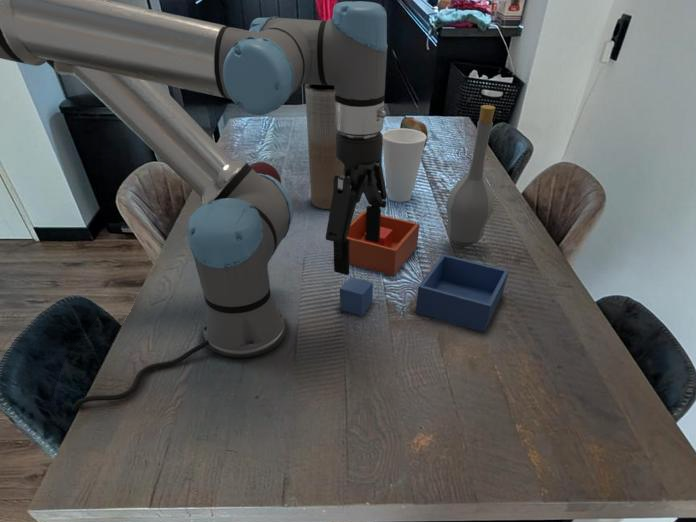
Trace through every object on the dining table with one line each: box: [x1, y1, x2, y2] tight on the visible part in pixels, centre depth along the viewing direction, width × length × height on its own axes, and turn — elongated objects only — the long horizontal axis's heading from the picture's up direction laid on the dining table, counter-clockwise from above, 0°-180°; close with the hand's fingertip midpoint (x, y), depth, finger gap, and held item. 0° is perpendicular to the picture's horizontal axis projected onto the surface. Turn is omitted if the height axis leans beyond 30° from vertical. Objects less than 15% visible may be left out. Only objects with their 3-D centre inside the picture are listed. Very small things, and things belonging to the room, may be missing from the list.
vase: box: [304, 84, 344, 210], centre depth 123 cm, size 10×10×28 cm
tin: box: [399, 116, 429, 149], centre depth 162 cm, size 15×3×8 cm, turn 25°
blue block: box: [339, 276, 374, 317], centre depth 97 cm, size 5×5×5 cm
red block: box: [364, 227, 393, 248], centre depth 111 cm, size 5×5×5 cm
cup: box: [381, 127, 428, 203], centre depth 131 cm, size 12×12×16 cm
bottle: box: [445, 104, 496, 248], centre depth 106 cm, size 11×11×30 cm
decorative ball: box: [249, 161, 282, 184], centre depth 129 cm, size 10×10×10 cm
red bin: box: [347, 210, 420, 277], centre depth 111 cm, size 15×15×6 cm
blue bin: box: [414, 253, 510, 333], centre depth 98 cm, size 15×15×6 cm
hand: (357, 255), depth 90 cm, fingers open, 13 cm apart
